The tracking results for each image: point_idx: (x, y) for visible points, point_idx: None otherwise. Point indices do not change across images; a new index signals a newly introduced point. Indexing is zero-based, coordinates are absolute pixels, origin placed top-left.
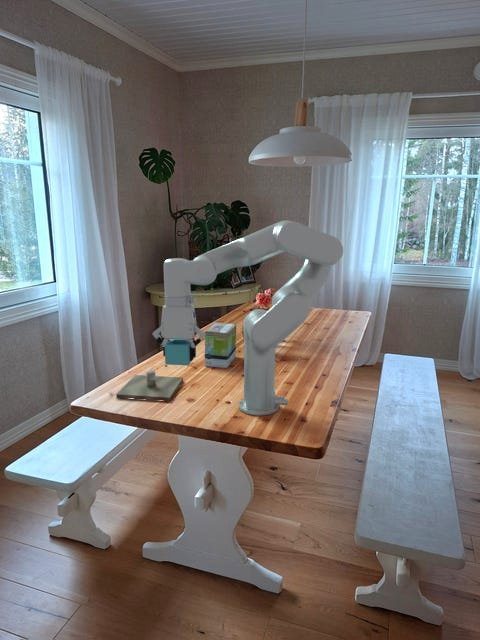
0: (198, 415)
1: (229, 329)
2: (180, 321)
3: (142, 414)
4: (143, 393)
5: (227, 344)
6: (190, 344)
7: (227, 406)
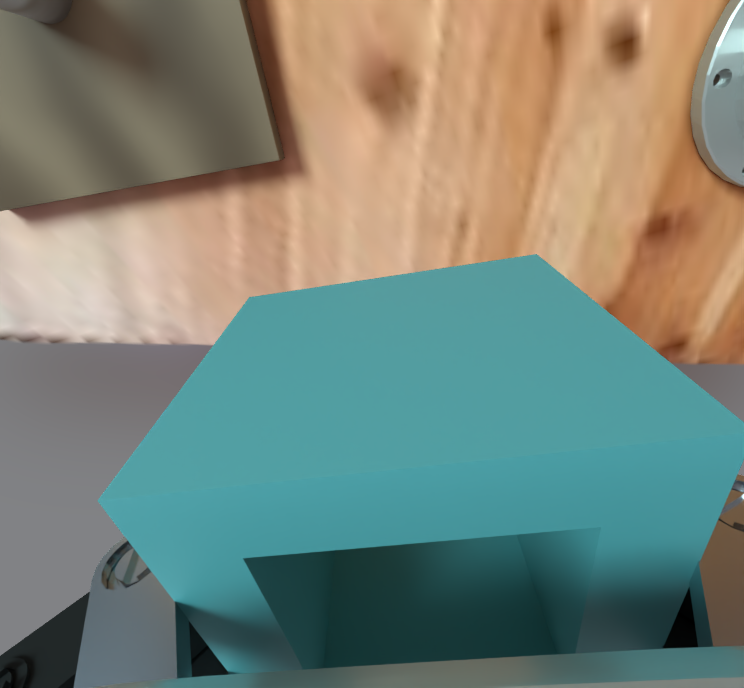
0: None
1: None
2: None
3: None
4: (105, 152)
5: None
6: (665, 644)
7: (618, 111)
